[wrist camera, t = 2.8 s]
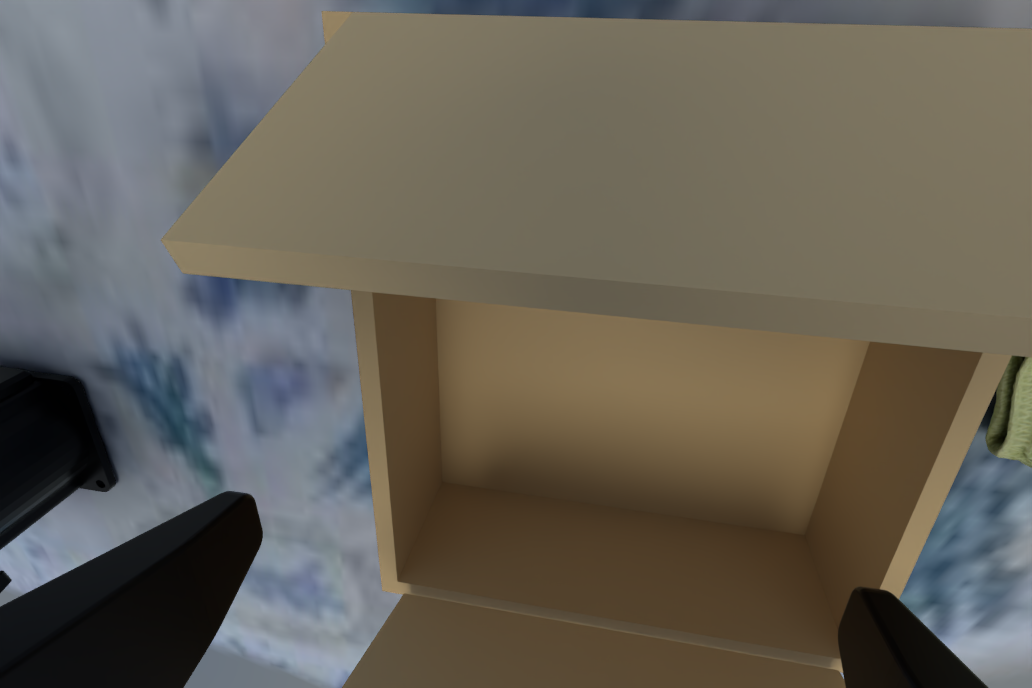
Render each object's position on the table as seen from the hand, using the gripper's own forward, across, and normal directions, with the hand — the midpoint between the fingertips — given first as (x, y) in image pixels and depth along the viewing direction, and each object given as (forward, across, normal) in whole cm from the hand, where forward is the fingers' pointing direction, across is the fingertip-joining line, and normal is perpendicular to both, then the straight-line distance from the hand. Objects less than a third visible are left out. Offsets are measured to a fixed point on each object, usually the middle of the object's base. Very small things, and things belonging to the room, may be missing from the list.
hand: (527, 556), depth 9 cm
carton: (+13, -2, +2) cm, 14 cm away
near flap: (+4, -2, -5) cm, 7 cm away
